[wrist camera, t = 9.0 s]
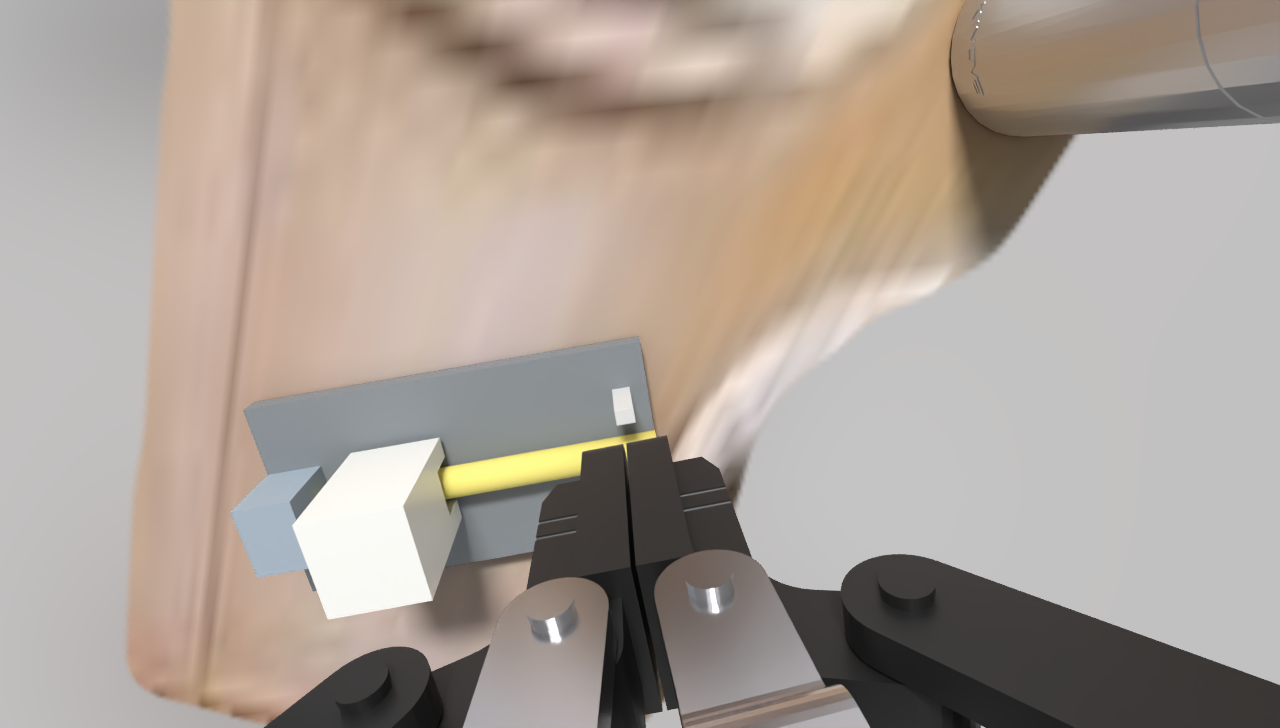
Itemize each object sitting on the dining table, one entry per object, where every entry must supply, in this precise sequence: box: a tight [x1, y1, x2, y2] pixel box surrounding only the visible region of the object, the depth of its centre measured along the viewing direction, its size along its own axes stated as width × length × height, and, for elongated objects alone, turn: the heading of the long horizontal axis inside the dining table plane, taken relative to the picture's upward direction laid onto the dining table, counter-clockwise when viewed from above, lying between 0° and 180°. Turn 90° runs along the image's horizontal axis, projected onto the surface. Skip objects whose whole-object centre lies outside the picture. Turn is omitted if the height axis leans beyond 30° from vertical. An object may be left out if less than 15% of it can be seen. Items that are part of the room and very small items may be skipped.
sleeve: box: [292, 438, 462, 619], centre depth 33 cm, size 5×5×7 cm
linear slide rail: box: [230, 336, 656, 591], centre depth 35 cm, size 22×12×5 cm, turn 99°
